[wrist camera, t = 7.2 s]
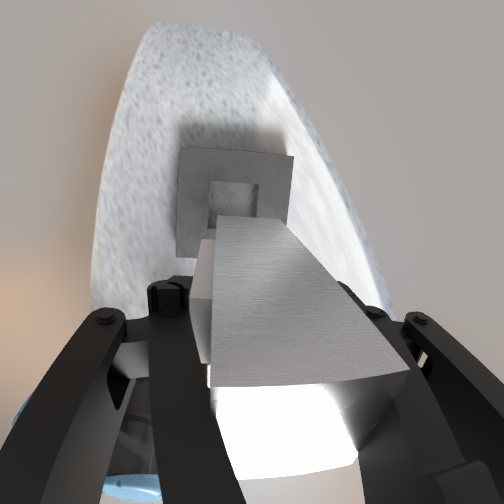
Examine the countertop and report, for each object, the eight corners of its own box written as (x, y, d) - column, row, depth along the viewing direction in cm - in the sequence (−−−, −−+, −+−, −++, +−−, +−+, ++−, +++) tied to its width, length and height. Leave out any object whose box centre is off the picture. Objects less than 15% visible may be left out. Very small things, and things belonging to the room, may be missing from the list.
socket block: (276, 253, 41) (281, 262, 38) (179, 248, 39) (175, 256, 36) (287, 156, 37) (293, 156, 33) (184, 148, 35) (180, 147, 31)
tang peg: (272, 277, 19) (351, 464, 6) (213, 274, 19) (211, 479, 5) (279, 219, 18) (410, 369, 5) (217, 215, 17) (210, 386, 4)
